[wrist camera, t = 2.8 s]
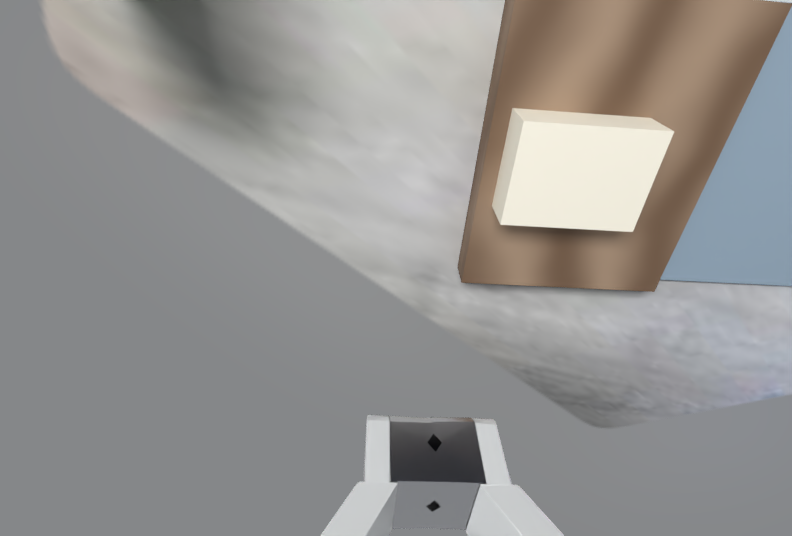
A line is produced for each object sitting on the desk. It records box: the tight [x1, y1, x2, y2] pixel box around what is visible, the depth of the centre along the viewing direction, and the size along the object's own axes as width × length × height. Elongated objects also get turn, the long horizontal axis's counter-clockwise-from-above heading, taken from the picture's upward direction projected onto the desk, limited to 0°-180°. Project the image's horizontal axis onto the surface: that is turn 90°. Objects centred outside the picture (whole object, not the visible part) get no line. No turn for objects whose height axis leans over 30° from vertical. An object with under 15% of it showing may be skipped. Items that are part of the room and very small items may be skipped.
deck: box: [458, 0, 792, 292], centre depth 28 cm, size 14×18×2 cm
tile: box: [492, 108, 674, 232], centre depth 26 cm, size 8×6×2 cm
